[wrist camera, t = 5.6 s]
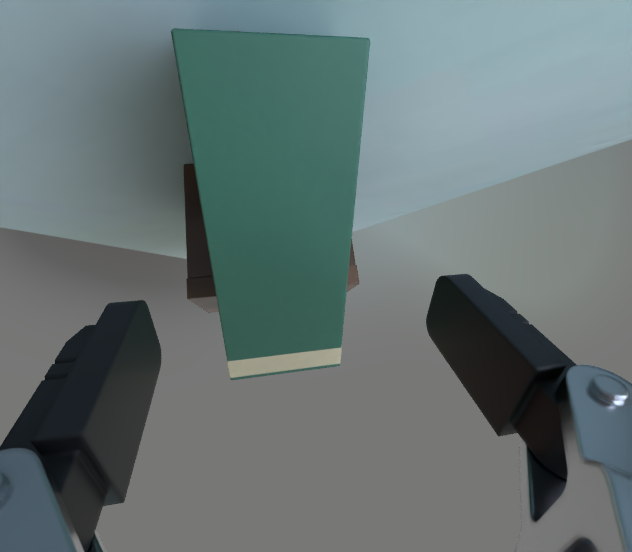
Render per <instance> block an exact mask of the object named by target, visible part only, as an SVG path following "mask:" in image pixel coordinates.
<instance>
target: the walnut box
mask: <svg viewBox="0 0 632 552" xmlns="http://www.w3.org/2000/svg"><path fill="white" fill-rule="evenodd" d="M184 192H185V219H186V245H187V271H188V278H187V298H188V299H189V300H190V301H192V302H193V303H195V304H196V305H198V306H199V307H201V308H202V309H203V310H205V311H206V312H208V313H211V312H219V309H218V303H217V297H216V291H215V285H214V279H213V274H212V268H211V262H210V256H209V250H208V244H207V239H206V233H205V227H204V221H203V215H202V209H201V203H200V198H199V192H198V186H197V180H196V174H195V168H194V165H184ZM358 284H359V278H358V271H357V265H355V259H354V251H353V245H352V239H351V249H350V259H349V270H348V280H347V291H346V292H348V291H349V290H351V289H352V288H354V287H355V286H356V285H358Z"/></svg>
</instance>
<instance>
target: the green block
mask: <svg viewBox="0 0 632 552" xmlns="http://www.w3.org/2000/svg"><path fill="white" fill-rule="evenodd" d="M171 34H172V40H173V46H174V51H175V57H176V63H177V69H178V75H179V81H180V87H181V92H182V98H183V104H184V110H185V116H186V122H187V127H188V133H189V139H190V145H191V151H192V157H193V163H194V168H195V174H196V180H197V186H198V192H199V198H200V203H201V209H202V215H203V221H204V227H205V233H206V239H207V244H208V250H209V256H210V262H211V268H212V274H213V279H214V285H215V291H216V297H217V303H218V309H219V314H220V320H221V326H222V332H223V338H224V343H225V350H226V355H227V365H228V370H229V376H230V379H231V380H237V379H244V378H252V377H259V376H267V375H275V374H282V373H290V372H297V371H304V370H312V369H320V368H327V367H335V366H339V365H340V361H341V349H342V347H341V344H342V333H343V323H344V312H345V301H346V291H347V280H348V270H349V259H350V249H351V237H352V227H353V217H354V206H355V195H356V185H357V174H358V164H359V153H360V142H361V132H362V121H363V110H364V100H365V89H366V79H367V68H368V57H369V47H370V39H369V38H358V37H337V36H317V35H296V34H275V33H255V32H234V31H213V30H193V29H172V31H171Z"/></svg>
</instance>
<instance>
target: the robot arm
mask: <svg viewBox="0 0 632 552" xmlns="http://www.w3.org/2000/svg"><path fill="white" fill-rule="evenodd" d="M426 324H427V330H428V333H429V336H430V337H431V339H432V340H433V342H434V343H435V345H436V346H437V348H438V349H439V351H440V352H441V354H442V355H443V356H444V358H445V359H446V361H447V362H448V364H449V365H450V367H451V368H452V370H453V371H454V372H455V374H456V375H457V377H458V378H459V380H460V381H461V383H462V384H463V386H464V387H465V388H466V390H467V391H468V393H469V394H470V396H471V397H472V398H473V400H474V401H475V403H476V404H477V406H478V407H479V409H480V410H481V412H482V413H483V415H484V416H485V417H486V419H487V420H488V422H489V423H490V425H491V426H492V428H493V429H494V431H495V432H496V433H497V435H498V436H503V435H508V434H514V433H518V434H519V435H520V437H521V438H522V439H523V441H522V442H521V444H520V447H519V474H520V507H521V508H520V509H521V529H520V535H519V539H518V542H517V545H516V548H515V552H632V384H631V383H630V382H628V381H627V380H625V379H623V378H622V377H620V376H618V375H616V374H614V373H612V372H610V371H608V370H605V369H602V368H599V367H595V366H590V365H576V364H575V363H574V362H573V361H572V360H571V359H569V358H568V357H567V356H566V355H565V354H564V353H563V352H562V351H561V350H559V349H558V348H557V347H556V346H555V345H554V344H553V343H552V342H551V341H549V340H548V339H547V338H546V337H545V336H544V335H543V334H542V333H541V332H539V331H538V330H537V329H536V328H535V327H534V326H533V325H529V323H528V321H527V320H526V319H525V318H524V317H523V316H522V315H520V314H517V311H516V310H515V309H514V308H513V307H512V306H511V305H509V304H508V303H507V302H506V301H505V300H504V299H502V298H501V297H499V296H497V295H495V294H493V293H491V292H490V291H488V290H486V289H484V288H483V287H482V286H481V285H480V284H479V283H478V282H477V281H476V280H475V279H473V278H472V277H471V276H470V275H468V274H459V275H447V276H441V277H439V279H438V280H437V281H436V285H435V288H434V292H433V296H432V299H431V303H430V307H429V310H428V314H427V319H426ZM160 366H161V348H160V343H159V340H158V337H157V334H156V331H155V328H154V325H153V321H152V318H151V315H150V312H149V309H148V306H147V304H146V302H145V301H143V300H139V301H127V302H115V303H109V304H108V305H107V306H106V308H105V309H104V311H103V313H102V315H101V317H100V318H99V320H98V322H97V324H96V325H89V326H85V327H84V328H83V329H81V330H80V331H79V332H78V333H77V334H75V335H74V336H73V337H72V338H71V339H69V340H68V341H67V342H66V343H65V345H64V347H63V348H62V350H61V351H60V353H59V355H58V356H57V358H56V359H55V364H52V366H51V367H50V369H49V370H48V372H47V374H46V375H45V380H44V381H41V383H40V385H39V386H38V388H37V389H36V391H35V392H34V394H33V396H32V398H31V399H30V400H29V402H28V404H27V405H26V407H25V408H24V410H23V411H22V413H21V415H20V416H19V418H18V419H17V421H16V423H15V424H14V426H13V427H12V429H11V430H10V432H9V434H8V435H7V437H6V438H5V440H4V442H3V443H2V445H1V446H0V552H106V549H105V547H104V545H103V542H102V540H101V538H100V536H99V534H98V532H97V530H96V525H97V522H98V520H99V516H100V513H101V510H102V507H103V506H106V505H112V504H118V503H123V502H124V500H125V497H126V493H127V489H128V486H129V482H130V478H131V475H132V471H133V467H134V463H135V459H136V456H137V452H138V449H139V445H140V441H141V437H142V433H143V430H144V426H145V422H146V419H147V415H148V412H149V408H150V404H151V400H152V397H153V393H154V389H155V386H156V381H157V378H158V375H159V371H160Z"/></svg>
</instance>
